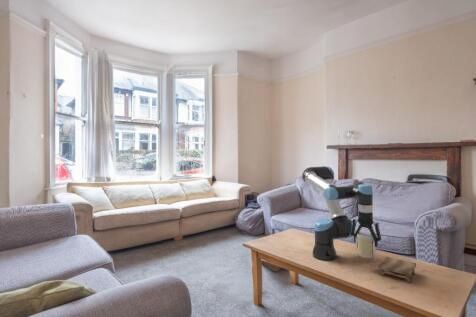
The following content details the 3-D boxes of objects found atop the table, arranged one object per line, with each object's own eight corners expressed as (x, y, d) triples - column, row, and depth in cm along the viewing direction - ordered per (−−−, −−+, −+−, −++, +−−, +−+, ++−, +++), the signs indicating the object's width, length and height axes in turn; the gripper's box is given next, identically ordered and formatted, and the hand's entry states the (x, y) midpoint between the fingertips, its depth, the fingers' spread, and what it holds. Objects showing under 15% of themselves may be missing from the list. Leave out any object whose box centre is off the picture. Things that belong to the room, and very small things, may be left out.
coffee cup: (376, 258, 149) (376, 237, 148) (359, 257, 151) (358, 237, 150) (372, 251, 158) (371, 232, 157) (355, 251, 160) (355, 231, 159)
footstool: (378, 275, 146) (378, 265, 145) (385, 265, 157) (385, 256, 157) (410, 283, 136) (410, 273, 135) (416, 273, 147) (415, 263, 146)
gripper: (344, 210, 158) (344, 247, 159) (384, 215, 143) (384, 256, 144) (348, 207, 163) (349, 243, 164) (388, 212, 149) (388, 252, 150)
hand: (365, 249), depth 154 cm, fingers closed on coffee cup, 9 cm apart
